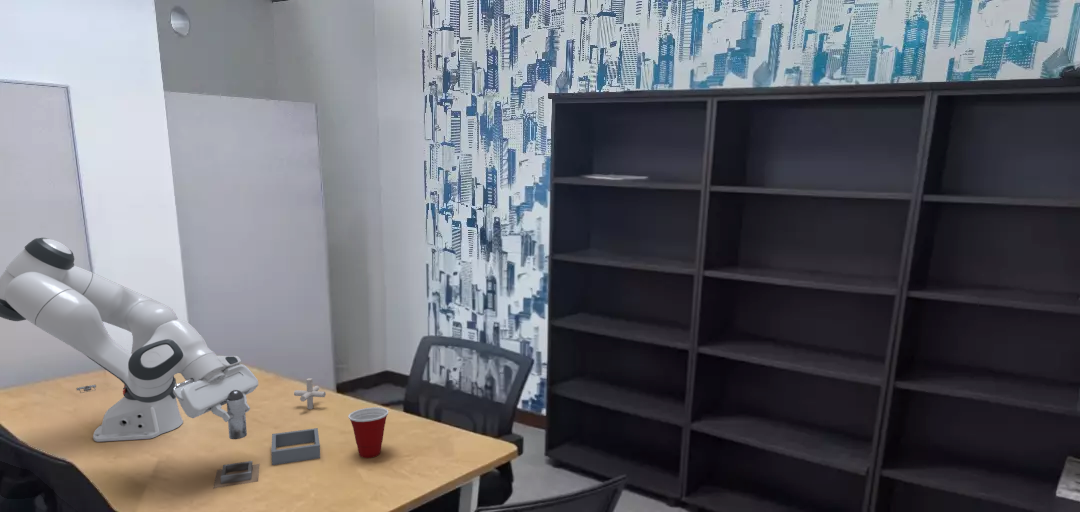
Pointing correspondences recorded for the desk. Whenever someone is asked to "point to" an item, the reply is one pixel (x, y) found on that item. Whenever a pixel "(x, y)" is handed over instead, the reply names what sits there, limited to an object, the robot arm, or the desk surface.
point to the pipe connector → (309, 393)
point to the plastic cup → (369, 430)
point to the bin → (295, 452)
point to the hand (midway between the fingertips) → (238, 415)
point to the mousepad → (86, 388)
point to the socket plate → (237, 474)
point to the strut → (236, 415)
